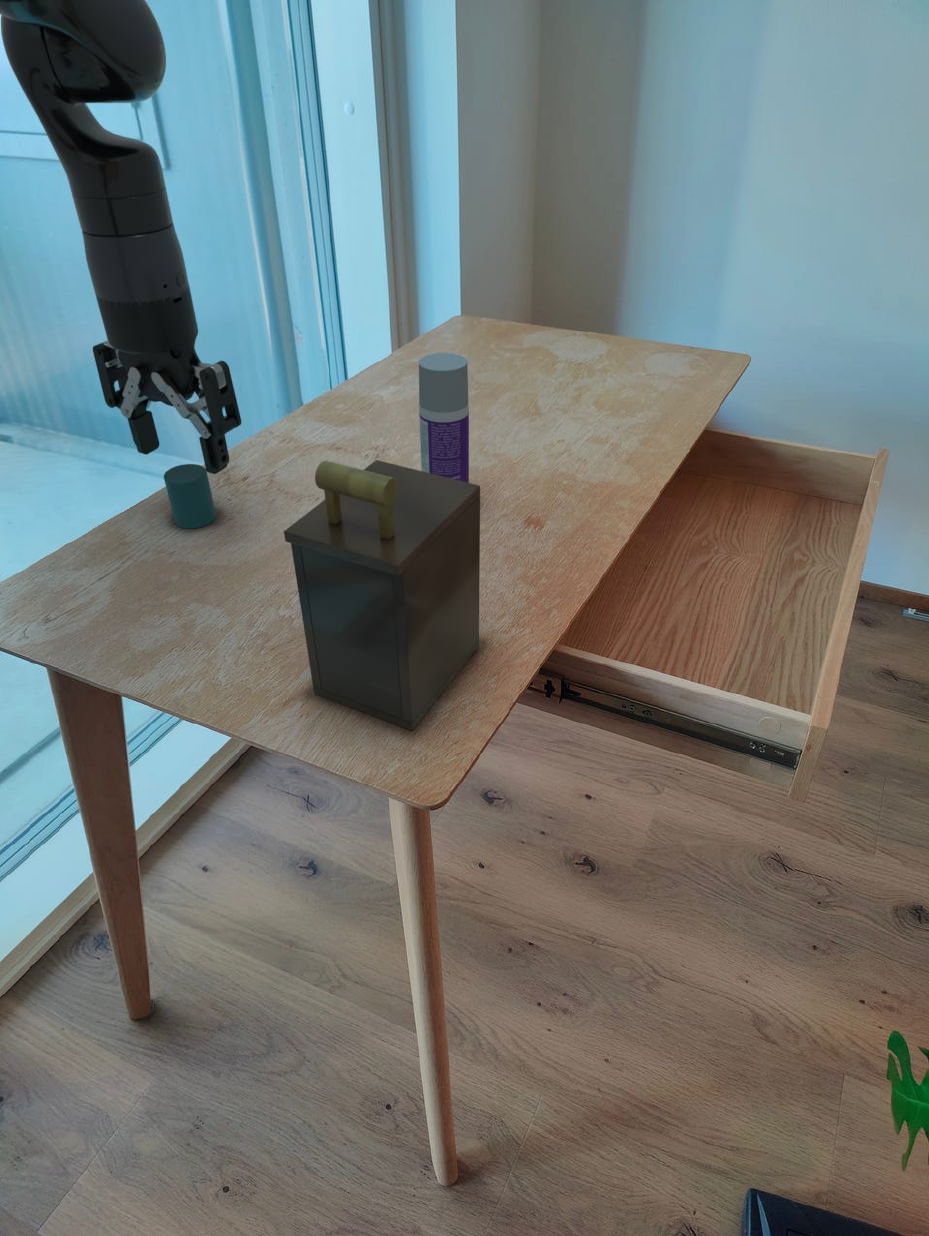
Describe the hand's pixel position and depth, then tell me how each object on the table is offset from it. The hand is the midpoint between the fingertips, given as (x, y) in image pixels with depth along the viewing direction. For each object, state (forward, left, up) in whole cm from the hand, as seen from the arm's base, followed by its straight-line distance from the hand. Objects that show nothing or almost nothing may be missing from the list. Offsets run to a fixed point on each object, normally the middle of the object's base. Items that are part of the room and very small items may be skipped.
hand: (183, 460), depth 79 cm
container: (+22, -12, -7) cm, 26 cm away
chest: (+6, -31, -6) cm, 32 cm away
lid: (+6, -31, +8) cm, 33 cm away
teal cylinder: (0, 0, -6) cm, 6 cm away
